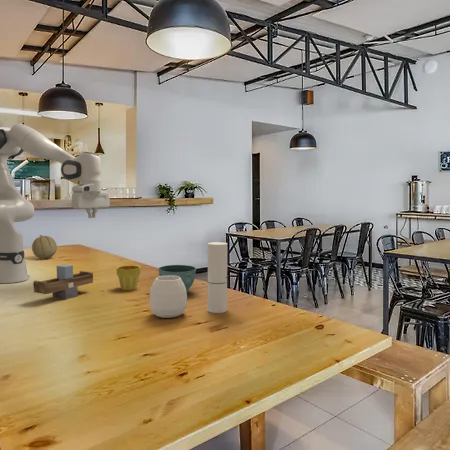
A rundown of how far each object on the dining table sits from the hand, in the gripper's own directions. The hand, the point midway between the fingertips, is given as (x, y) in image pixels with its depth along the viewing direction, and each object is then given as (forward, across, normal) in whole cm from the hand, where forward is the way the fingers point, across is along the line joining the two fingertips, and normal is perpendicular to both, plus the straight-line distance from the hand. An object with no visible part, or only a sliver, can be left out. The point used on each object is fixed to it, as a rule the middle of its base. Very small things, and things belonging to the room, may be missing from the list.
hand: (92, 217), depth 194 cm
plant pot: (+31, -2, +20) cm, 37 cm away
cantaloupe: (+31, -36, -80) cm, 93 cm away
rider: (+25, +22, +7) cm, 34 cm away
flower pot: (+31, -7, +43) cm, 54 cm away
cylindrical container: (+31, +7, +71) cm, 78 cm away
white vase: (+31, +21, +59) cm, 70 cm away
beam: (+31, +22, +7) cm, 39 cm away
